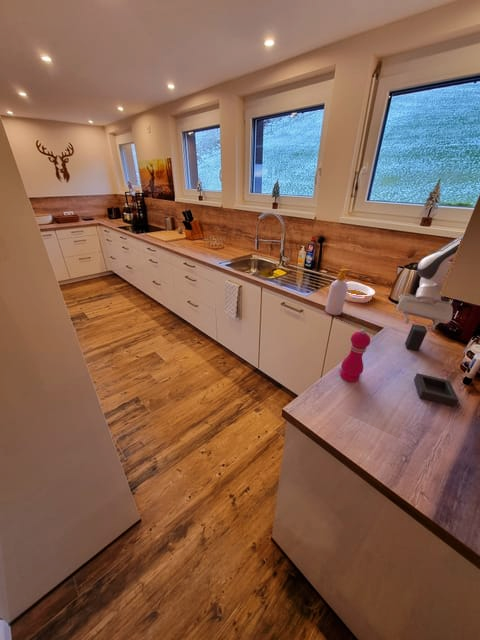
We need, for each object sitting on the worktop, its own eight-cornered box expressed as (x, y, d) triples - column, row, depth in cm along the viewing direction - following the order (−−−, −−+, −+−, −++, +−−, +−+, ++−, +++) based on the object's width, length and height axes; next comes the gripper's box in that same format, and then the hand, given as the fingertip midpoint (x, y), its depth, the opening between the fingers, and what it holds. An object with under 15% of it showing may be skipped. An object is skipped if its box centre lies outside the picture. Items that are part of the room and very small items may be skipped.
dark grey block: (416, 346, 115) (424, 326, 111) (418, 351, 111) (427, 331, 107) (404, 343, 117) (412, 324, 112) (406, 349, 113) (414, 329, 108)
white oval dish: (376, 308, 149) (378, 300, 146) (335, 302, 154) (337, 294, 152) (370, 290, 173) (372, 283, 171) (334, 285, 178) (336, 279, 176)
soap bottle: (345, 315, 139) (356, 272, 128) (327, 315, 139) (337, 271, 127) (339, 308, 146) (349, 267, 135) (323, 308, 146) (331, 266, 135)
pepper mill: (361, 375, 96) (377, 328, 87) (357, 386, 91) (373, 337, 81) (341, 367, 100) (354, 321, 90) (336, 377, 94) (349, 330, 85)
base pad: (445, 387, 92) (449, 380, 91) (454, 407, 84) (458, 400, 82) (413, 379, 95) (416, 373, 94) (419, 398, 87) (422, 391, 85)
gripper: (401, 289, 117) (393, 316, 115) (457, 300, 108) (449, 330, 106) (399, 295, 123) (390, 321, 120) (451, 306, 114) (444, 335, 111)
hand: (418, 326), depth 113 cm, fingers open, 8 cm apart
